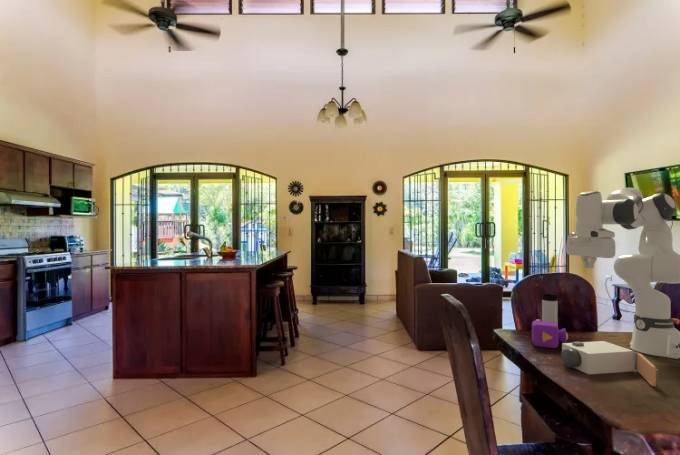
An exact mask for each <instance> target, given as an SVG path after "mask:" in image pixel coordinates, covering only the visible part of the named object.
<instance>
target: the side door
mask: <svg viewBox="0 0 680 455" xmlns="http://www.w3.org/2000/svg"><path fill="white" fill-rule="evenodd" d="M634 370H635V371H637V373H639V375H641V376H642V377H643V378H644V380H646V382H647V383H648V384H649V385H650V386H652V387H656V386H657V385H656V384H659V369H658V368H657V367H656V366H655V365H654V364H653V363H652V362H651V361H649V360H648V358H646V357H645V356H644V355H643V353H641V352H638V351H634V359H633V371H634Z"/></svg>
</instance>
